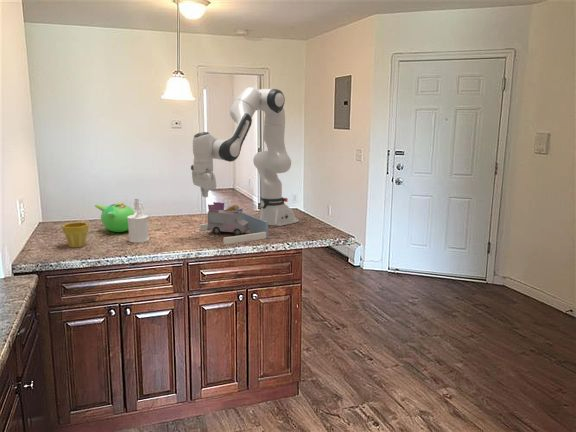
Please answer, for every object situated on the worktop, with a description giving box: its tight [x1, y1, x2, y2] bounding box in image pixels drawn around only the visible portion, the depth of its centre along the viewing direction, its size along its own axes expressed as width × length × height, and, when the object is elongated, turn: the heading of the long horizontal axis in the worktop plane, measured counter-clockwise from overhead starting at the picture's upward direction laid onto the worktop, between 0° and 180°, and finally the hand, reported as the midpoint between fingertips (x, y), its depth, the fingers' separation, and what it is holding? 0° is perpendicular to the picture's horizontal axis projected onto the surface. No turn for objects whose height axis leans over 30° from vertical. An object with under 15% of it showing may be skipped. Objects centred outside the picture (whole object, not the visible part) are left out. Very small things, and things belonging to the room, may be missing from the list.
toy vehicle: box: [206, 201, 249, 236], centre depth 237 cm, size 9×20×15 cm, turn 74°
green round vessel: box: [94, 201, 135, 233], centre depth 237 cm, size 18×17×15 cm
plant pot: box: [62, 221, 89, 249], centre depth 212 cm, size 10×10×10 cm
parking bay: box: [198, 211, 269, 246], centre depth 236 cm, size 23×30×8 cm
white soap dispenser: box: [127, 197, 150, 244], centre depth 221 cm, size 10×9×20 cm
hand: (205, 196), depth 225 cm, fingers closed
